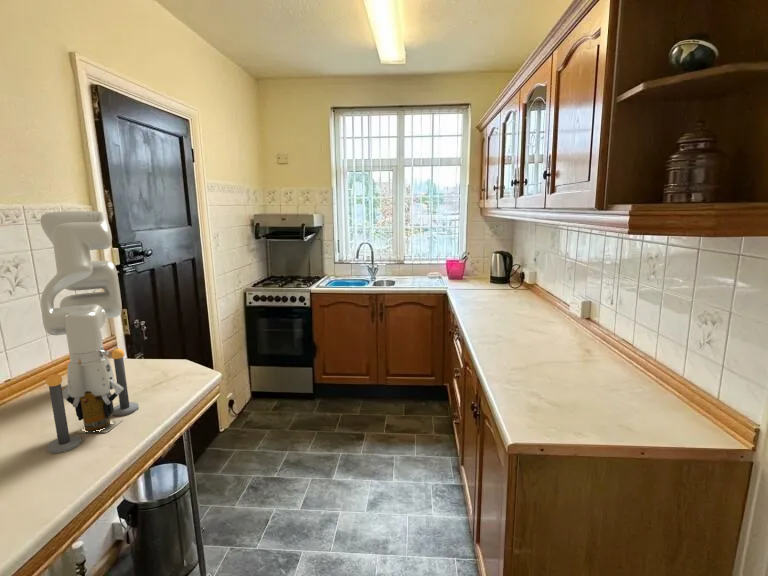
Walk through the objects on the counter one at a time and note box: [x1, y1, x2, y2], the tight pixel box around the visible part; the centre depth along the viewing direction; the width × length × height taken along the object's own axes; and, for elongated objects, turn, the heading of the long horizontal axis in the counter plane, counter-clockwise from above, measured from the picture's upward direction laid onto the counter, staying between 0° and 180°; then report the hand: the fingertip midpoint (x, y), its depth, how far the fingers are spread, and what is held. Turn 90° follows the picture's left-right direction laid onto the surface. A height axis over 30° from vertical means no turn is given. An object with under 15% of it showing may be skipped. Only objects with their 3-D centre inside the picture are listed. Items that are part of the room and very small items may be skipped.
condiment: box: [76, 391, 123, 434], centre depth 119 cm, size 7×8×12 cm
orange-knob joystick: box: [45, 373, 82, 454], centre depth 109 cm, size 7×7×20 cm
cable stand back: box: [111, 348, 139, 417], centre depth 128 cm, size 7×7×20 cm
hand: (95, 416), depth 120 cm, fingers closed on condiment, 6 cm apart
